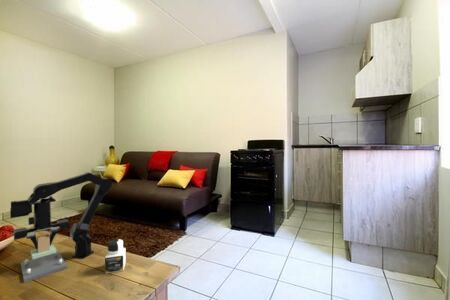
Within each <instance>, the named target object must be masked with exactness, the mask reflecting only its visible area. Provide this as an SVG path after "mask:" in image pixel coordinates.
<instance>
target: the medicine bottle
mask: <svg viewBox="0 0 450 300" xmlns="http://www.w3.org/2000/svg"><path fill="white" fill-rule="evenodd" d="M126 256H127V252H126V247H124V241H123V239H119V238H118V239H117V238H116V239H112V240H111V241H109V242H108V243H107V252H106V254H105V257H104V273H105V274H111V273H117V272H123V271H124V270H125V266H126V260H127V258H126Z"/></svg>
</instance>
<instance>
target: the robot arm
mask: <svg viewBox="0 0 450 300" xmlns="http://www.w3.org/2000/svg"><path fill="white" fill-rule="evenodd" d="M87 182H90V183H93V184H95V188H94V193H93V196H92V197H91V199H90V200H89V203H88V204H87V207H86V209H85V211H84V213H83V215H82V216H81V219H80V220H79V221H78V222H77V223H76V222H74V223H72V226H71V228H70V224H71V223H70V221H69V220H68V219H66V218H65V219H61V220H57V221H56V223H53V224H52V212H51V211H52V209H51V203H53V202H56V201H57V200H56V198H54V197H53V195H55V194H56V193H58V192H60V191H62V190H65V189H69V188H71V187H75V186H77V185H81V184H83V183H87ZM112 186H113V181H112V180H111V179H109V178H107V177H100V176H98V175H96V174H93V173H91V172H84V173H82V174H79V175H76V176H72V177H68V178H66V179H63V180H59V181H54V182H47V183H45V182H44V183H40V184H37V185H35V186H34V187H33V190H32V193H31V194H30V195H29V196H28V198H27V199H23V200H12V201H10V208H9V209H10V210H9V212H10V219H15V218H21V217H27V216H29V215H31V214H32V213H33V216H31V217H28V218H27V220H28V222H27V223H28V225H29V226H32V225H33V228H27V227H21V228H20V227H19V228H16V229H14V230H13V240H17V241H18V240H21V239H26V240H28V239H30V241H31V242H32V243H33V246H34V247H35V248H34V249H36V250H38V245H37V236H36V233H38V232H43V231H48V230H49V236H50V246H51V245H52V243H53V241H54V239H55V237H56V235H57V233H59V232H60V231H61V230H64V229H69V228H70V230H69V236H70V238H71V239H72V241H73V242H74V243H75V245H74V254H73V255H72V257H73V258H77V259H85V258H86V257H88V256H91V254H94V252H95V251H94V250H92V241H93V238H92V237H91V236H90V235H89V233H88V232H89V231H90V230H89V229H90V224H91V221H92V219H93V218H94V216H95V214H96V212H97V209H98V208H99V206H100V204H101V202H102V200H103V197H104V196H106V194H108V193H109V191H110V190H111V188H112Z"/></svg>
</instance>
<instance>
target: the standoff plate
mask: <svg viewBox="0 0 450 300" xmlns="http://www.w3.org/2000/svg"><path fill="white" fill-rule="evenodd" d="M20 269H21V273H22V278H23V279H22V280H23V283H27V282H31V281H33V280H36V279H39V278H42V277H45V276H48V275H51V274H53V273H57V272H60V271H63V270H66V269H68V265H67V263H66V261H65V260H64V258H63V256H62V255H61V253H60V251H58V250H56V253H53V254H50V255H46V256H43V257H39V258H36V259H28V258H26V259H24V261H21V262H20Z"/></svg>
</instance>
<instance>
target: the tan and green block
mask: <svg viewBox="0 0 450 300" xmlns="http://www.w3.org/2000/svg"><path fill="white" fill-rule="evenodd" d="M36 240H37V245H38V250H36V248H34V249H31V250H30V255H31V258H32V259H36V258H39V257H43V256H46V255H50V254H53V253H56V251H57V248H56V247H55V245H54V244H52V243H51V246H50V234H49V233H47V234H44V235H39V236H36ZM32 259H31V260H32Z"/></svg>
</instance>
